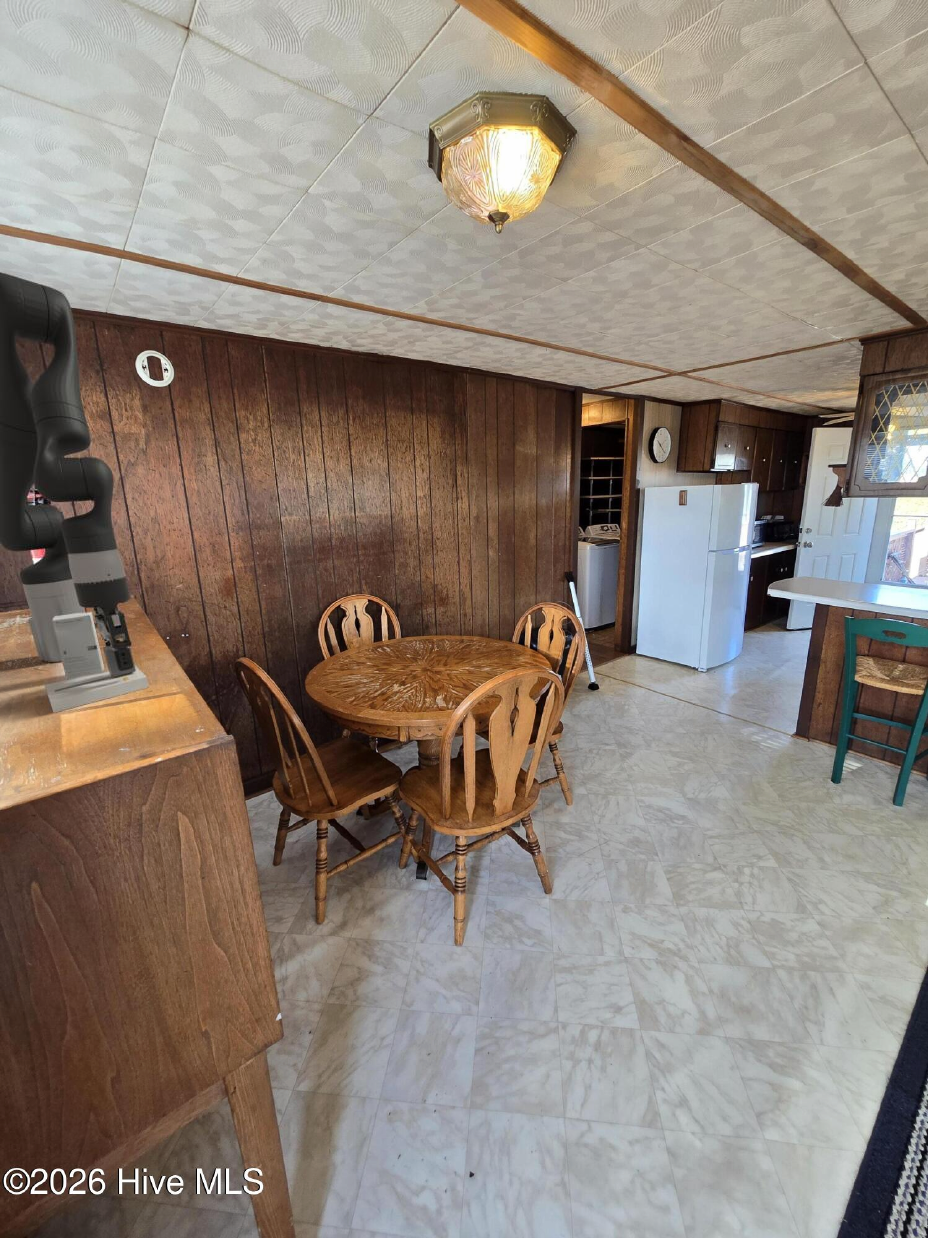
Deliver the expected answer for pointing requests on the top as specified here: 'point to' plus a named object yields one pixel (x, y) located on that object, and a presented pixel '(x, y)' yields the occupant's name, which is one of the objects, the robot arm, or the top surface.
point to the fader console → (93, 688)
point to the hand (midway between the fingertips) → (121, 664)
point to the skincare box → (78, 644)
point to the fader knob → (112, 662)
